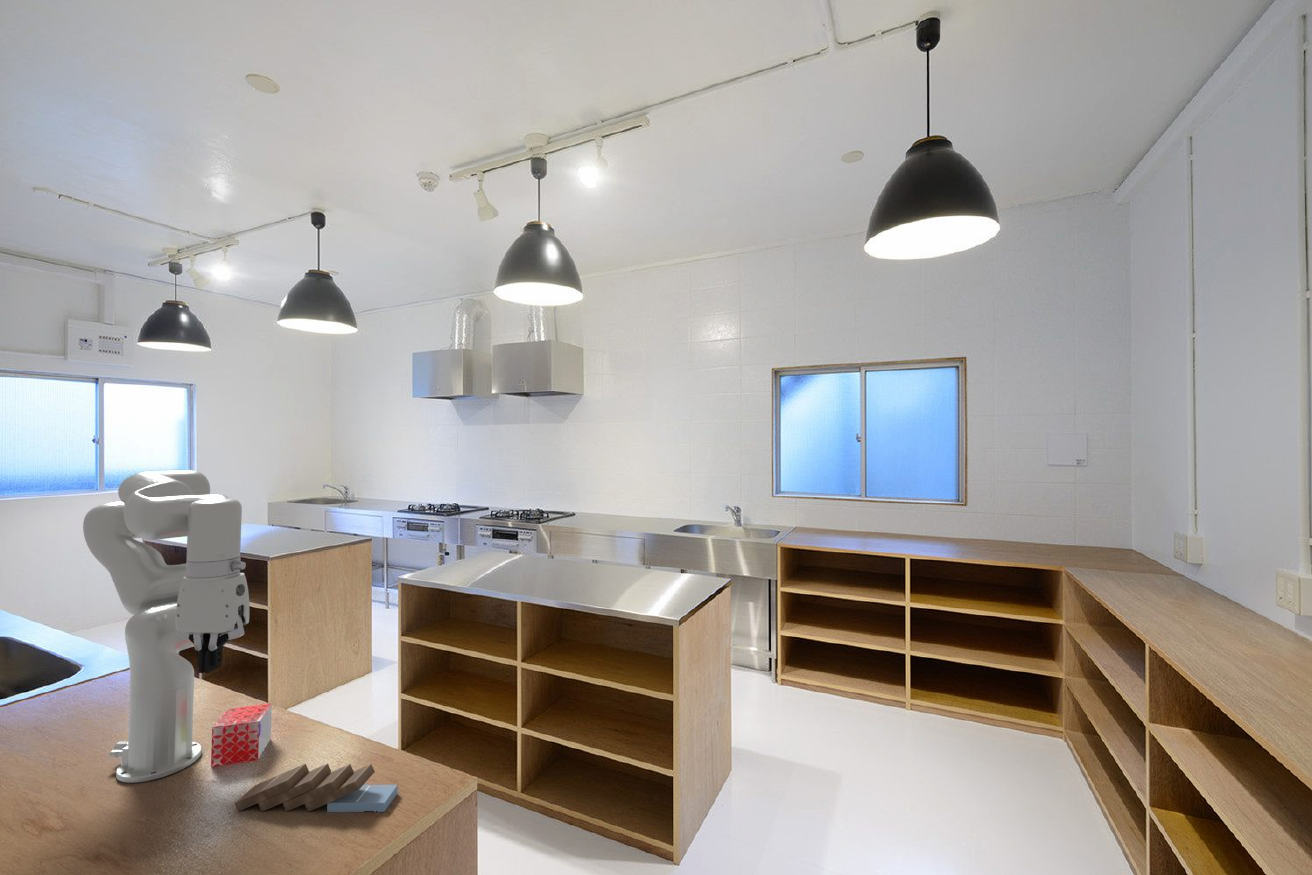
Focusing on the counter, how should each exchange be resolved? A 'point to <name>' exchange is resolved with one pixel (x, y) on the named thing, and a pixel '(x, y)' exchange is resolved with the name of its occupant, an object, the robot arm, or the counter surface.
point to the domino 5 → (365, 799)
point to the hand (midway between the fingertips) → (210, 669)
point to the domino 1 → (272, 787)
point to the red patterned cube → (241, 734)
